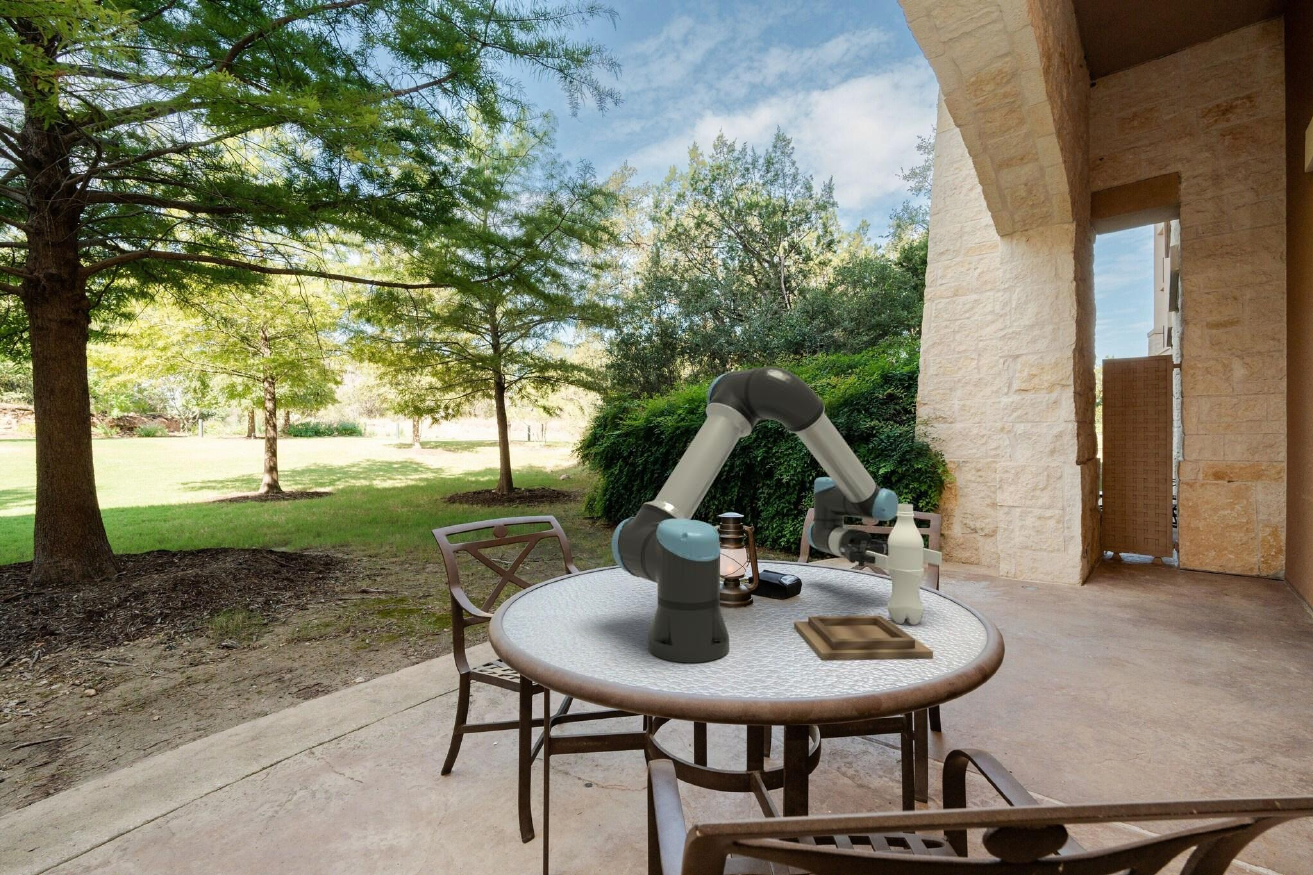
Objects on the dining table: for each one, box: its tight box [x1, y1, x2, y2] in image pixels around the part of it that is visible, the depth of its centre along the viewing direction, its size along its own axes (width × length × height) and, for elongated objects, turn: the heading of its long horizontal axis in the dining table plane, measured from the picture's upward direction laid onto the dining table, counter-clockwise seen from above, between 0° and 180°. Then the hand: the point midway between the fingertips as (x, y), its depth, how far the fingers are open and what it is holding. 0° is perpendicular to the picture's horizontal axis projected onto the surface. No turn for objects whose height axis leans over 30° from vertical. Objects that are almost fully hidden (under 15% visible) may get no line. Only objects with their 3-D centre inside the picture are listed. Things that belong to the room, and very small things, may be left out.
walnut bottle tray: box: [793, 615, 934, 661], centre depth 113 cm, size 20×18×3 cm
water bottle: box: [887, 503, 925, 626], centre depth 126 cm, size 7×7×25 cm
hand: (914, 561), depth 123 cm, fingers open, 13 cm apart
